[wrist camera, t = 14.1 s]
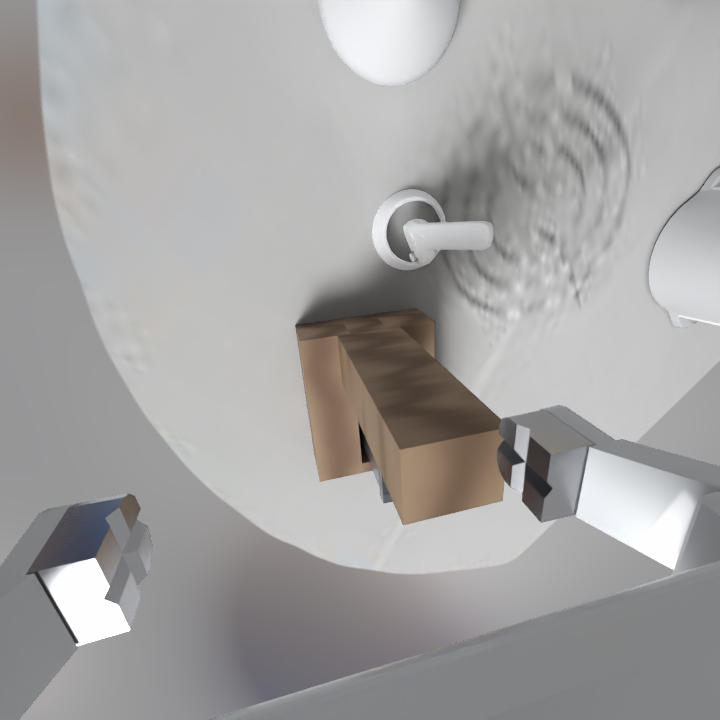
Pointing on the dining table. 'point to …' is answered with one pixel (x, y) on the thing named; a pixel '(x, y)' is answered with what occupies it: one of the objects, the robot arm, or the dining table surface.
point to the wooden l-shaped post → (398, 414)
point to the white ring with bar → (426, 232)
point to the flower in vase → (390, 36)
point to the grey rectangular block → (375, 468)
